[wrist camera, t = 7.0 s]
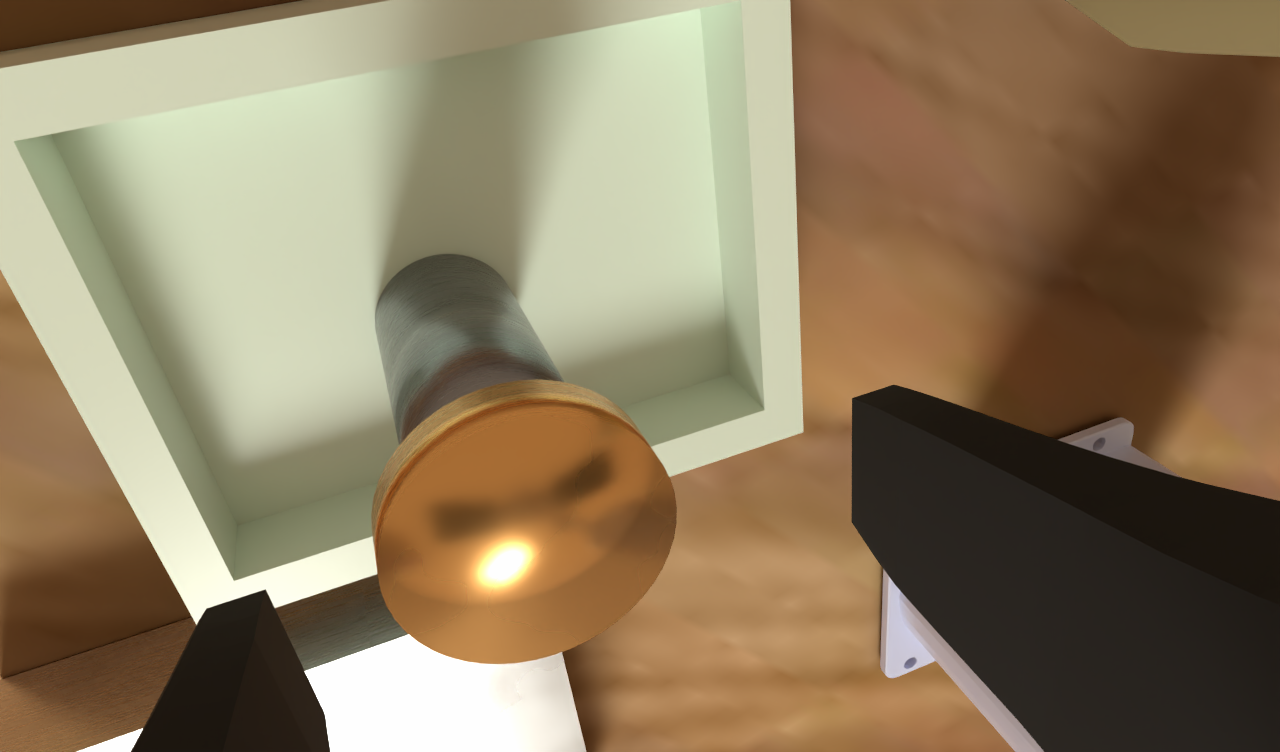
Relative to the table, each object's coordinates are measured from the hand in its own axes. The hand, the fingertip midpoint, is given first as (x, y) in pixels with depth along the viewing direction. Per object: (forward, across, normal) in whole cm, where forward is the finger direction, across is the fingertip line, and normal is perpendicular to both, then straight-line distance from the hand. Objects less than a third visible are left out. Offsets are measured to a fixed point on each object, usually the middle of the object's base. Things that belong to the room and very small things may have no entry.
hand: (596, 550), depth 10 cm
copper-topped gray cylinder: (+10, 0, +1) cm, 10 cm away
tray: (+10, 0, 0) cm, 10 cm away
